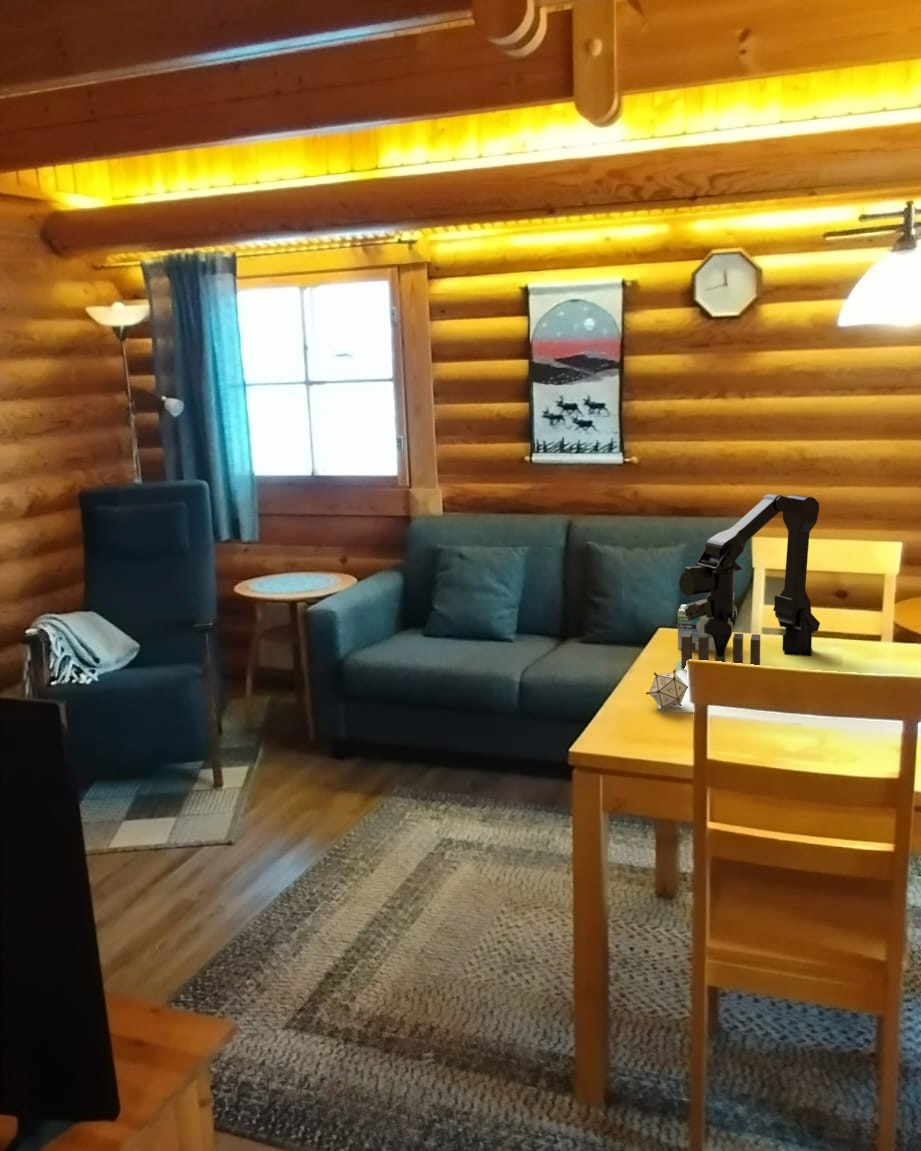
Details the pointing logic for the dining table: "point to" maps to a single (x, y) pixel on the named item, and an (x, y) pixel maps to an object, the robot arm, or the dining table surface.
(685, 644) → the domino
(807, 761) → the dining table surface
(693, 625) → the light bulb box
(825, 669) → the dining table surface
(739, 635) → the domino
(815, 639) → the dining table surface
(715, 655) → the domino
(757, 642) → the domino
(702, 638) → the domino
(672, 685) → the game die
